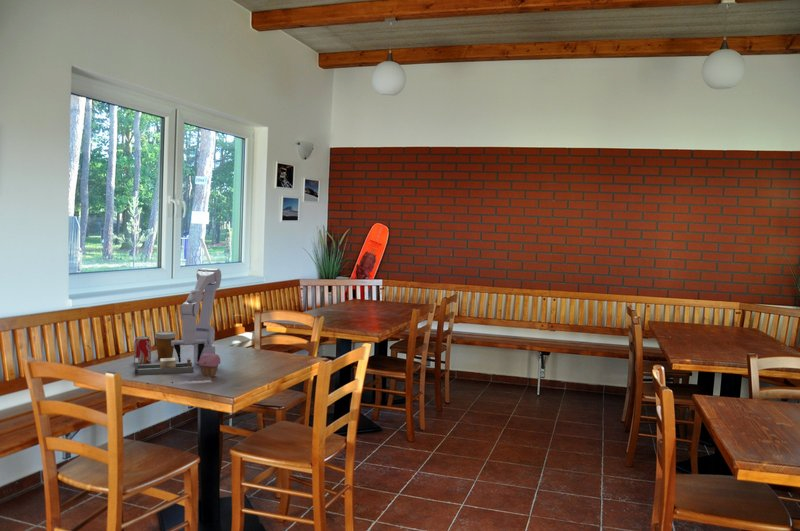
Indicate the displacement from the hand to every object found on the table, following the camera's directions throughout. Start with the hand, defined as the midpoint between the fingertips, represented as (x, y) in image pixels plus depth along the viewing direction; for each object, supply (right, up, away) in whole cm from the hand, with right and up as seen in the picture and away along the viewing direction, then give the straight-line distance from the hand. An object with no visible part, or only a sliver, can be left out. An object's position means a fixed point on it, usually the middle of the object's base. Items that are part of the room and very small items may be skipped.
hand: (189, 361), depth 284 cm
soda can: (-25, -3, +12) cm, 28 cm away
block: (-5, -3, -2) cm, 6 cm away
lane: (-9, -4, -4) cm, 11 cm away
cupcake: (+11, -6, -7) cm, 14 cm away
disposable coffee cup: (-19, -2, +26) cm, 32 cm away
